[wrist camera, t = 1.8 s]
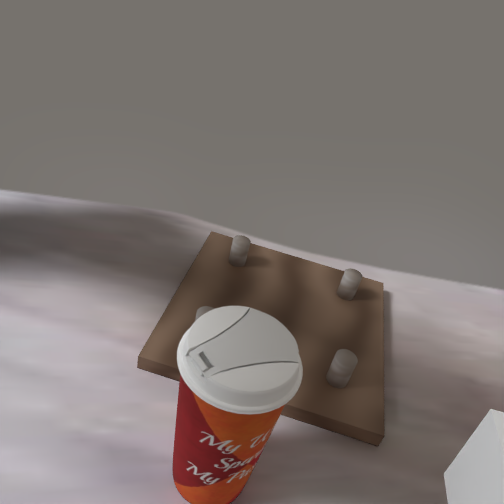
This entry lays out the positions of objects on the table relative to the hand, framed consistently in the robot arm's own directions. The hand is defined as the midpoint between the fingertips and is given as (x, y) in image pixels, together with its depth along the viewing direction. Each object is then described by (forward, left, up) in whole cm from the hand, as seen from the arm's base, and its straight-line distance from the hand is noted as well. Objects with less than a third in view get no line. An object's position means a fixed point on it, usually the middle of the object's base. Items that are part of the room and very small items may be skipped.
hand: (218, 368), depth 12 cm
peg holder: (+2, +30, -25) cm, 39 cm away
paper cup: (0, +12, -25) cm, 28 cm away
